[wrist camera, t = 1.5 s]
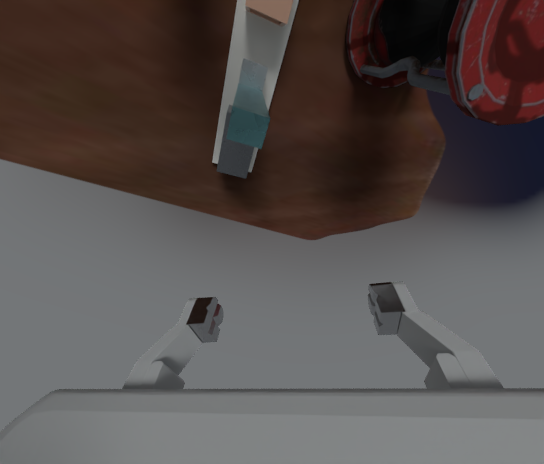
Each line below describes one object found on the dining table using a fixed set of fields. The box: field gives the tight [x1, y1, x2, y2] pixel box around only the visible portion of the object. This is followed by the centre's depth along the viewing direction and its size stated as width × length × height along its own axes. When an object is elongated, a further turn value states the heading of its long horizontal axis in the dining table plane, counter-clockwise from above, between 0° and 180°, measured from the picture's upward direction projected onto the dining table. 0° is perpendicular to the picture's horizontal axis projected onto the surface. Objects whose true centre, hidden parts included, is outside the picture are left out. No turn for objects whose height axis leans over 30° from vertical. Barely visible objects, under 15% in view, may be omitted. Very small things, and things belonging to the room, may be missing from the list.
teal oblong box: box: [226, 57, 270, 149], centre depth 31 cm, size 16×4×20 cm, turn 162°
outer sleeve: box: [217, 105, 254, 179], centre depth 40 cm, size 10×5×5 cm, turn 162°
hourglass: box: [346, 0, 544, 125], centre depth 24 cm, size 16×16×25 cm
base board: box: [212, 0, 299, 172], centre depth 37 cm, size 30×8×1 cm, turn 162°
